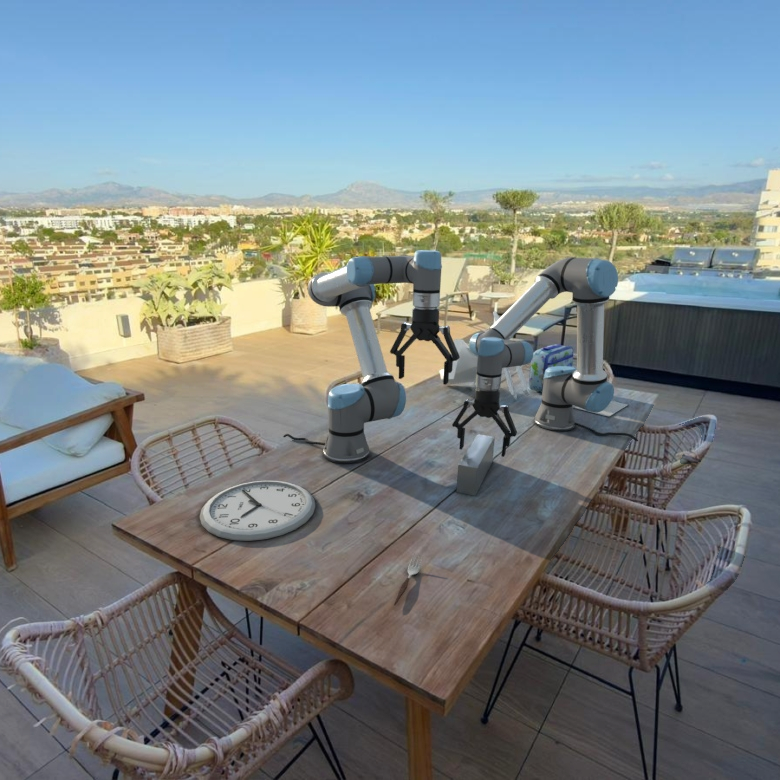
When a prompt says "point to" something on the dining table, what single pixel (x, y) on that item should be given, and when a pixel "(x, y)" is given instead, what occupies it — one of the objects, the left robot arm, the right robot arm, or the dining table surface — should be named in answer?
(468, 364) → the white plastic object
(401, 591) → the fork
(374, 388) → the left robot arm
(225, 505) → the wall clock
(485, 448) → the bar
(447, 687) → the dining table surface
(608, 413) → the invitation card
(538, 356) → the lunch box
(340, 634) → the dining table surface
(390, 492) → the dining table surface
